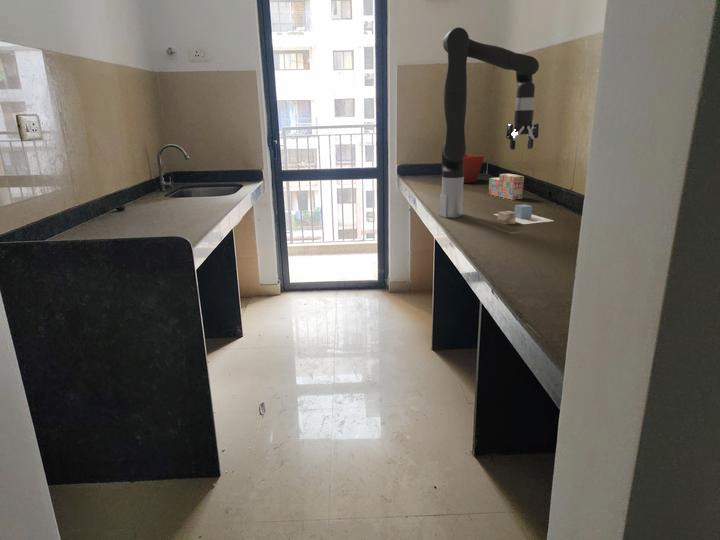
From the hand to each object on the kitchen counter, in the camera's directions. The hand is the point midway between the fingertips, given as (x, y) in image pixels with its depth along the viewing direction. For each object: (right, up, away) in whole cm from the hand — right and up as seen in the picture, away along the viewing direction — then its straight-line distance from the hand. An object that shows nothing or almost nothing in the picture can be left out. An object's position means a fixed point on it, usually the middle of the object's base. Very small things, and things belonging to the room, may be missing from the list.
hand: (521, 149), depth 208 cm
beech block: (-10, -33, -10) cm, 36 cm away
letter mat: (0, -30, -2) cm, 30 cm away
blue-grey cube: (0, -29, -2) cm, 30 cm away
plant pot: (-2, +6, +112) cm, 112 cm away
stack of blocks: (+8, -13, +52) cm, 54 cm away
